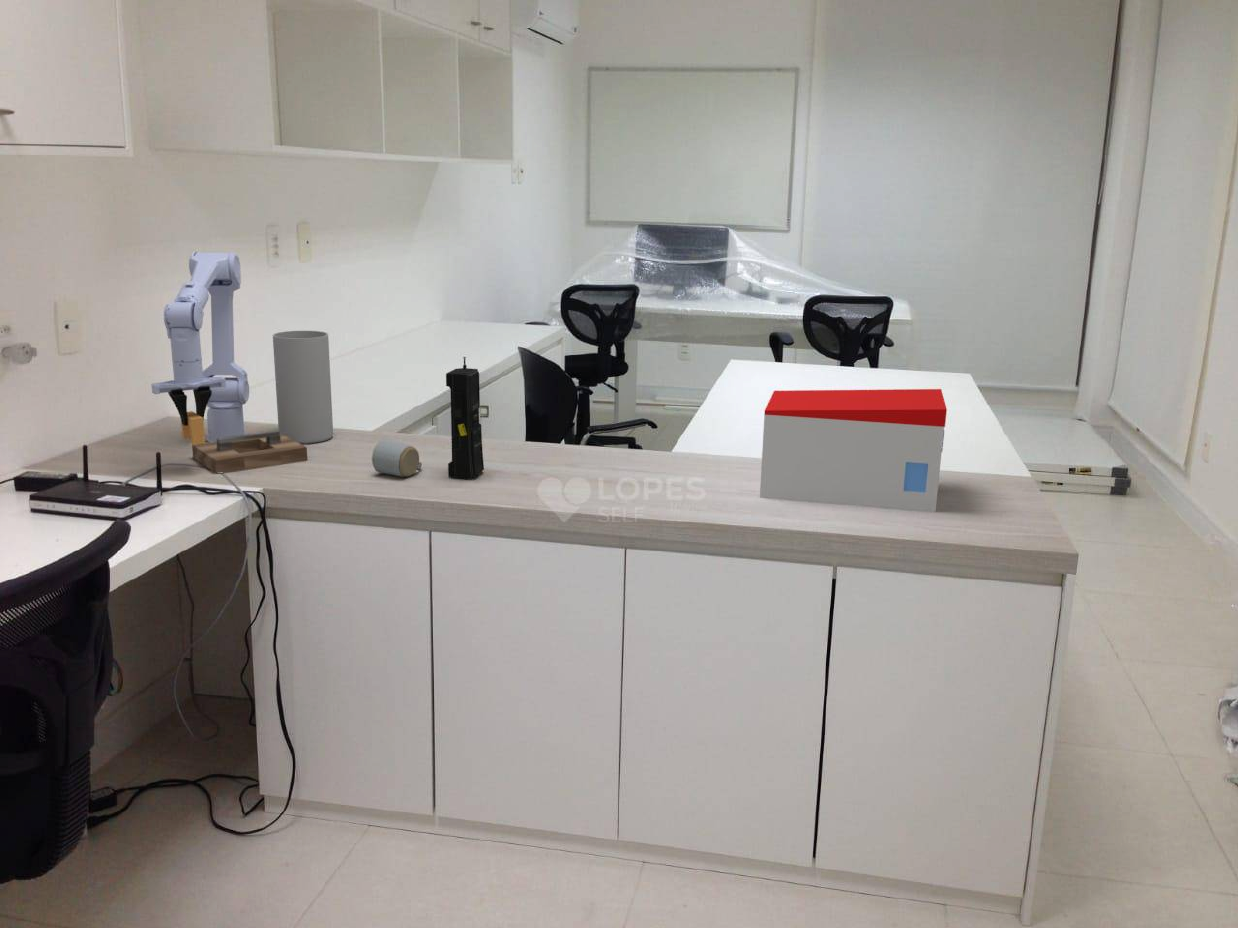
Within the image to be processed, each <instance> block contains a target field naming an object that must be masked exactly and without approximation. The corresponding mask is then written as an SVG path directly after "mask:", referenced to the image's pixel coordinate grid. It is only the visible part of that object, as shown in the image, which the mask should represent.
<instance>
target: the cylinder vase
mask: <svg viewBox="0 0 1238 928" xmlns="http://www.w3.org/2000/svg"><path fill="white" fill-rule="evenodd" d="M272 345H273V360H274V361H273V363H274V364H273V365H274V376H275V377H274V378H275V393H276V408H277V424H278V426H277V427H278V431H279V432H280V433H281V434H283V435H285V436H286V437H288V438H290V439H292V440H294V441H296V442H298V443H300V444H301V445H307V444H317V443H322V442H326V441H328V440H330V439H332V438H333V436H334V425H333V424H334V423H333V405H332V404H333V403H332V384H331V380H332V379H331V365H330V364H331V363H330V346H329V345H330V343H329V333H328V332H325V331H319V330H289V331H287V330H286V331H281V332H275V333H273V334H272Z"/></svg>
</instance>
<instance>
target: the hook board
mask: <svg viewBox="0 0 1238 928" xmlns="http://www.w3.org/2000/svg"><path fill="white" fill-rule="evenodd" d="M191 448H192V449H191V450H192V451H191V452H192V458H193V459H194V460H196V461H197V462H199V463H200V464H202V465H203V466H205V467H206V468H207V469H208V470H210V469H212V470H211V471H212V472H213V473H214V474H216V475H219V473H218V472H223V473H222V474H225V473H226V474H227V473H232V472H240V471H247V470H252V469H260V468H267V467H272V466H278V465H279V466H280V465H285V464H291V463H293V464H295V463H299V462H305V461H308V460H309V459H308V447H307V446H305V445H304V444H300V443H298V442H296V441H294V440H292V439H290V438H288V437H286V436H285V435H283V434H281V433H280V432H279V430H270V431H269V430H268V431H264V432H263V431H261V432H254V433H247V434H246V433H245V435H238V436H230V437H223V438H217V441H215V442H208V441H207V442H205V443H204V444H196V445H192V444H191Z"/></svg>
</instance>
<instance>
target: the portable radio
mask: <svg viewBox="0 0 1238 928" xmlns="http://www.w3.org/2000/svg"><path fill="white" fill-rule="evenodd" d="M462 357H463V365H462V367H461V368H455V369H452V370H451V371H449V372H446V374H445V386H446V387H449V389H450V427H451V430H450V431H451V461H450V462H448V464H447V471H448V472H447V473H448V475H447V476H448V478H450V479H451V478H452V479H459V480H460V479H461V480H469V481H470V480H474V479H475V478H476V477H478V476H479V475H480V474H481V473H482V472H483V471H484V470H485V466H484V465H485V464H484V454H483V452H484V451H483V436H482V424H481V423H480V407H481V406H480V405H481V403H480V402H481V401H480V398H481V397H480V396H481V395H480V372H479V369H478V368H468V367H467V364H466V358H467V357H466V356H462Z"/></svg>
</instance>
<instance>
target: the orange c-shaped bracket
mask: <svg viewBox="0 0 1238 928" xmlns="http://www.w3.org/2000/svg"><path fill="white" fill-rule="evenodd" d="M187 416H188V425H186V426H184V425H183V424H182V421H181V420H180V423H181V437H182V439H184V440H186V439H187V440H188V439H190V444H191V446H192V445H196V444H204V443H206V440H205V438H206V435H205V427H204V426H205V425H204V423H205V422H204V420H203V417H201V416H199V415H198V414H196V412H195V411H187Z"/></svg>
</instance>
